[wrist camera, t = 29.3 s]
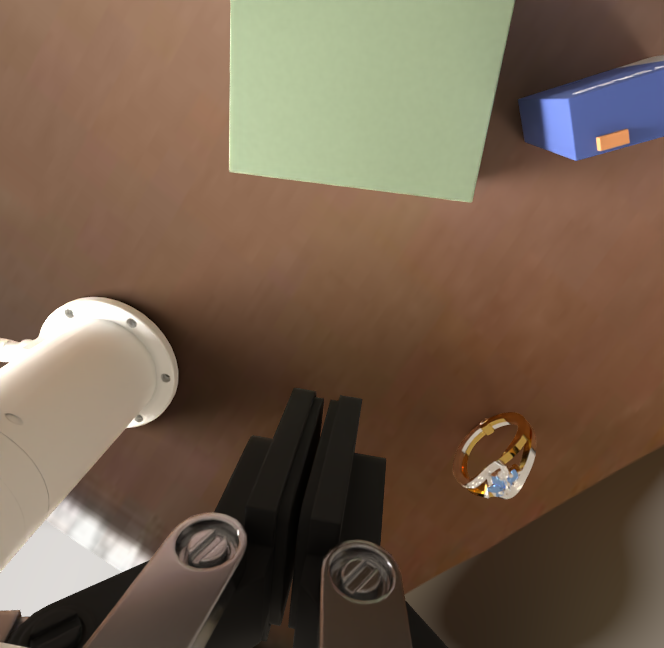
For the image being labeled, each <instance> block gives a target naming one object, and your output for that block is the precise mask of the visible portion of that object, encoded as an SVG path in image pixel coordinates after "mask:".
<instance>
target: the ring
mask: <svg viewBox="0 0 664 648" xmlns="http://www.w3.org/2000/svg"><path fill="white" fill-rule="evenodd" d="M504 425H518V431H517V433H516V436H515V437H514V439H513V441H512V442H511V444H510V445H509V446H508V448H507V449H506V450H505V452H504V453H503V454H502V455H501V457H500V458H499V459H498V460H497V461H496V462H493V463H490V464H489V465H487V466H486V467H485V468H484V469H483V470H482V471H481V472H480V473H479V474H478V475H476V476H475V477H474V478H471V479H470V477H469V475H468V472H467V461H468V457H469V454H470V452H471V450H472V448H473V447H474V445H475V444H476V443H477V442H478V441H479V440H480V439H481V438H482V437H483V436H484V435H490V434H491V433H493V432H494V431H495V430H494V429H496V428H498V427H501V426H504ZM523 446H524V450H523V455H522V458H521V461H520V464H519V466H518V465H517V464H514V465H512V467H511V468H508V466H506V465H505V464H506V463H507V462H508V461H509V460H511V459H512V458H513V457H514V456H515V455H516V454H517V453H518V452H519V451H520V450H521V448H522V447H523ZM535 453H536V434H535V431H534V429H533V428H532V426H531V425H530V424H529V423H528V421H527V420H526V419H525V418H524V417H523V416H522V415H520V414H518V413H514V412H508V413H502V414H499V415H496V416H493V417H491V418H489V419H488V418H485V419H483V420H481V421H480V422H479V425H477V426H476V427H475V428H474V429H473V430H471V431H470V432H469V433H468V434H467V436H466V437H465V438H464V439H463V441H462V442H461V444H460V445H459V447H458V449H457V451H456V453H455V456H454V460H453V473H454V476H455V478H456V479H457V481H458V482H459V483H460V484H461V485H462V486H463V487H464V488H466V489H467V490H468V491H469V492H471V493H472V494H474V495H477V496H481V497H486V498H489V497H494V496H496V497H499V498H502V499H509V498H512V497H514V496H515V495H516V494H517V493H518V492H519V491H520V489H521V488H522V486H523V484H524V482H525V480H526V478H527V476H528V474H529V472H530V470H531V468H532V465H533V462H534V458H535ZM494 471H495V473H493V472H494ZM486 479H487V481H488V483H485V484H482V483H483V482H484V481H485V480H486Z"/></svg>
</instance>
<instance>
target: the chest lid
mask: <svg viewBox="0 0 664 648" xmlns="http://www.w3.org/2000/svg"><path fill="white" fill-rule="evenodd" d="M514 5H515V0H231V21H230V134H229V172H234V173H241V174H249V175H257V176H265V177H273V178H281V179H289V180H297V181H305V182H313V183H321V184H329V185H337V186H345V187H353V188H361V189H368V190H376V191H384V192H392V193H400V194H408V195H416V196H424V197H432V198H440V199H448V200H456V201H464V202H472V200H473V196H474V191H475V186H476V182H477V177H478V172H479V168H480V163H481V158H482V154H483V149H484V145H485V140H486V135H487V131H488V126H489V121H490V117H491V112H492V107H493V103H494V98H495V93H496V89H497V84H498V79H499V75H500V70H501V65H502V61H503V56H504V51H505V47H506V42H507V38H508V33H509V28H510V24H511V19H512V14H513V10H514Z"/></svg>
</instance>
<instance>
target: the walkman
mask: <svg viewBox="0 0 664 648" xmlns="http://www.w3.org/2000/svg"><path fill="white" fill-rule="evenodd" d="M518 103H519V110H520V116H521V122H522V128H523V134H524V140H525V142H526V143H529V144H532V145H534V146H537V147H540V148H543V149H545V150H548V151H551V152H553V153H556V154H559V155H561V156H564V157H567V158H570V159H572V160H575V161H578V160H581V159H585V158H589V157H592V156H596V155H599V154H603V153H606V152H610V151H614V150H617V149H621V148H624V147H628V146H631V145H635V144H639V143H642V142H646V141H649V140H653V139H656V138H660V137H664V55H661V56H655V57H650V58H647V59H643V60H640V61H637V62H634V63H631V64H628V65H624V66H621V67H618V68H615V69H612V70H609V71H606V72H602V73H599V74H596V75H593V76H590V77H587V78H583V79H580V80H577V81H574V82H571V83H568V84H565V85H561V86H558V87H555V88H552V89H549V90H546V91H542V92H539V93H536V94H533V95H530V96H527V97H523V98H520V99H518Z"/></svg>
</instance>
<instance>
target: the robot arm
mask: <svg viewBox="0 0 664 648" xmlns="http://www.w3.org/2000/svg"><path fill="white" fill-rule="evenodd" d="M0 361H2V362H10V363H9V364H7V365H5V366H4V367H2V368H1V369H0V572H1V571H2V570H3V569H4V568H5V567H6V565H7V564H8V563H9V562H10V561H11V559H12V558H13V557H14V556H15V555H16V553H17V552H18V551H19V550H20V549H21V548H22V546H23V545H24V544H25V543H26V542H27V541H28V539H29V538H30V537H31V536H32V535H33V534H34V532H35V531H36V530H37V529H38V528H39V527H40V526H41V525H42V524H43V522H44V521H45V520H46V519H47V518H48V517H49V516H50V514H51V513H52V512H53V511H54V510H55V509H56V508H57V506H58V505H59V504H60V503H61V502H62V501H63V500H64V498H65V497H66V496H67V495H68V494H69V493H70V492H71V490H72V489H73V488H74V487H75V486H76V485H77V484H78V482H79V481H80V480H81V479H82V478H83V477H84V476H85V474H86V473H87V472H88V471H89V470H90V469H91V467H92V466H93V465H94V464H95V463H96V462H97V461H98V459H99V458H100V457H101V456H102V455H103V454H104V453H105V451H106V450H107V449H108V448H109V447H110V446H111V445H112V443H113V442H114V441H115V440H116V439H117V438H118V437H119V435H120V434H121V433H122V432H123V431H124V430H125V429H126V428H129V427H137V426H140V425H144V424H147V423H149V422H151V421H153V420H154V419H156V418H157V417H158V416H159V415H161V414H162V413H163V412H164V411H165V409H166V408H167V407H168V406H169V404H170V403H171V401H172V399H173V397H174V395H175V393H176V389H177V385H178V367H177V361H176V358H175V355H174V352H173V350H172V347H171V345H170V344H169V342H168V340H167V339H166V337H165V335H164V334H163V333H162V332H161V331H160V329H159V328H158V327H157V326H156V325H155V324H154V323H153V322H152V321H151V320H150V319H149V318H147V317H146V316H145V315H144V314H142V313H141V312H139V311H138V310H136V309H135V308H133V307H131V306H129V305H127V304H124V303H122V302H120V301H117V300H113V299H108V298H104V297H86V298H79V299H76V300H74V301H71V302H68V303H66V304H65V305H63V306H62V307H60V308H58V309H57V310H55V311H54V312H53V313H52V314H51V315H50V316H49V317H48V318H47V320H46V321H45V323H44V324H43V326H42V329H41V332H40V334H39V337H38V338H37V339H35V340H30V339H25V340H23V341H21V342H15V341H13V340H8V339H2V338H0ZM361 404H362V399H361V398H355V397H348V396H342V395H340V398H339V401H336V400H330V403H329V407H328V411H327V415H326V418H325V422H324V426H323V429H322V433H321V424H322V415H323V406H324V398H318V397H316V391H312V390H306V389H299V388H294V389H293V391H292V393H291V396H290V398H289V401H288V403H287V406H286V408H285V410H284V413H283V415H282V418H281V420H280V423H279V425H278V427H277V430H276V432H275V435H274V437H273V439H271V438H265V437H260V436H254V435H253V436H251V437H250V439H249V441H248V443H247V445H246V447H245V449H244V451H243V453H242V455H241V457H240V459H239V462H238V464H237V466H236V468H235V470H234V472H233V474H232V476H231V478H230V480H229V482H228V484H227V487H226V489H225V491H224V493H223V495H222V497H221V499H220V501H219V503H218V505H217V507H216V509H215V512H214V513H202V514H198V515H195V516H192V517H190V518H188V519H186V520H184V521H183V522H181V523H180V524H179V525H178V526H177V527H176V528H175V529H174V530H173V531H172V532H171V533H170V535H169V536H168V537H167V539H166V540H165V541H164V543H163V544H162V545H161V546H160V548H159V549H158V550H157V552H156V553H155V554H154V555H153V557H152V558H151V559H150V560H149V561H147V562H145V563H142V564H140V565H138V566H136V567H133V568H131V569H129V570H127V571H124V572H122V573H120V574H118V575H115V576H113V577H111V578H109V579H106V580H104V581H102V582H100V583H97V584H95V585H93V586H90V587H88V588H86V589H84V590H81V591H79V592H77V593H75V594H73V595H70V596H68V597H66V598H63V599H61V600H59V601H57V602H54V603H52V604H50V605H48V606H46V607H44V608H42V609H41V610H39V611H37V612H35V613H34V614H33V615H31V616H30V617H21V612H20V610H11V611H0V648H252V647H253V646H255V645H257V644H258V643H260V641H267V638H268V634H269V630H270V626H271V624H274V625H279V626H280V625H281V622H282V619H283V615H284V611H285V607H286V603H287V599H288V595H289V591H290V587H291V583H292V579H293V583H292V594H291V604H290V614H289V625H288V627H289V628H293V629H295V633H294V643H293V648H448V647H447V646H446V645H445V644H444V643H443V641H442V640H441V639H440V638H439V637H438V636H437V635H436V634H435V633H434V632H433V630H432V629H431V628H430V627H429V626H428V625H427V624H426V623H425V622H424V621H423V619H422V618H421V617H420V616H419V615H418V614H417V613H416V612H415V611H414V610H413V608H412V607H411V606H410V605H409V604H408V603H407V602H406V601H405V596H404V589H403V582H402V576H401V572H400V569H399V566H398V563H397V562H396V561H395V559H394V558H393V556H392V555H391V554H390V553H389V552H387V551H386V550H385V549H384V548H383V547H381V546H380V542H381V528H382V514H383V499H384V485H385V471H386V458H381V457H375V456H369V455H364V454H358V453H354V452H355V445H356V439H357V432H358V425H359V418H360V411H361ZM320 433H321V437H320Z"/></svg>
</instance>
